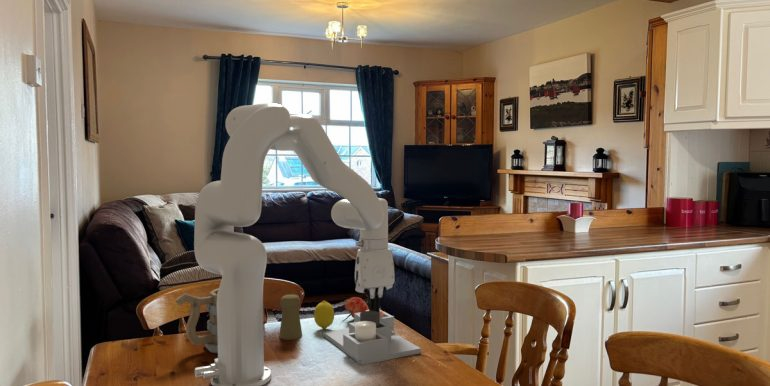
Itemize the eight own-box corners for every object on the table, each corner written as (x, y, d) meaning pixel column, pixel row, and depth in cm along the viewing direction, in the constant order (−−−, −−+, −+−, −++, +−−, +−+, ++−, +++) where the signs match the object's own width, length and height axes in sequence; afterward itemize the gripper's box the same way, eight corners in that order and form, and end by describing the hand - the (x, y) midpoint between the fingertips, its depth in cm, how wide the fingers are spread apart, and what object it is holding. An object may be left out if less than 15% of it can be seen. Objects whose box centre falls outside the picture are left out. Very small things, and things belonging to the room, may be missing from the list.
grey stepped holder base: (357, 365, 130) (357, 344, 129) (319, 336, 150) (319, 318, 150) (424, 352, 138) (424, 332, 138) (380, 327, 159) (380, 309, 158)
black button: (365, 333, 140) (365, 317, 140) (356, 327, 145) (356, 312, 145) (383, 330, 143) (383, 314, 143) (374, 324, 147) (374, 309, 147)
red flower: (350, 333, 160) (377, 311, 161) (334, 313, 160) (361, 290, 161) (349, 328, 167) (375, 306, 168) (333, 309, 167) (360, 287, 168)
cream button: (360, 345, 132) (360, 328, 131) (351, 339, 136) (351, 322, 136) (379, 342, 134) (379, 325, 134) (370, 336, 138) (370, 320, 138)
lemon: (331, 333, 153) (330, 304, 153) (311, 331, 154) (311, 303, 154) (336, 327, 159) (336, 298, 158) (317, 325, 160) (317, 297, 159)
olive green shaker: (276, 334, 152) (276, 293, 152) (298, 331, 155) (298, 291, 154) (282, 340, 147) (282, 299, 146) (305, 337, 149) (304, 296, 149)
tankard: (248, 334, 152) (247, 279, 151) (265, 347, 142) (264, 288, 141) (170, 347, 142) (169, 288, 141) (182, 363, 131) (181, 299, 130)
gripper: (354, 248, 145) (355, 319, 146) (405, 244, 152) (405, 311, 153) (342, 244, 151) (343, 312, 153) (391, 240, 158) (391, 304, 160)
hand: (374, 311), depth 153 cm, fingers closed
